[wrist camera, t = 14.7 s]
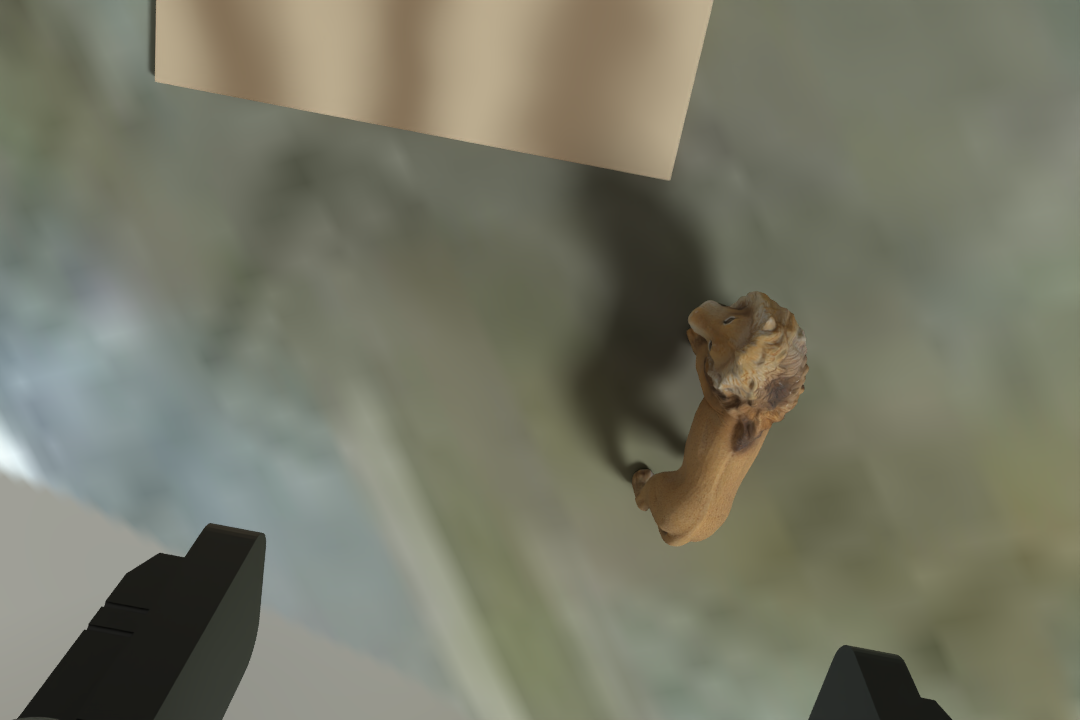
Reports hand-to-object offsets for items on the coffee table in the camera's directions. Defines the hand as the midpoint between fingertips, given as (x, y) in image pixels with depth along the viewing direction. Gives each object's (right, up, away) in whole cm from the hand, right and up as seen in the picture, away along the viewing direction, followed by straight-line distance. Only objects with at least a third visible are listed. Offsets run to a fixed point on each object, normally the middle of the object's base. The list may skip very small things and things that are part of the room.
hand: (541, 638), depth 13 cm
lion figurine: (+8, +3, +31) cm, 32 cm away
